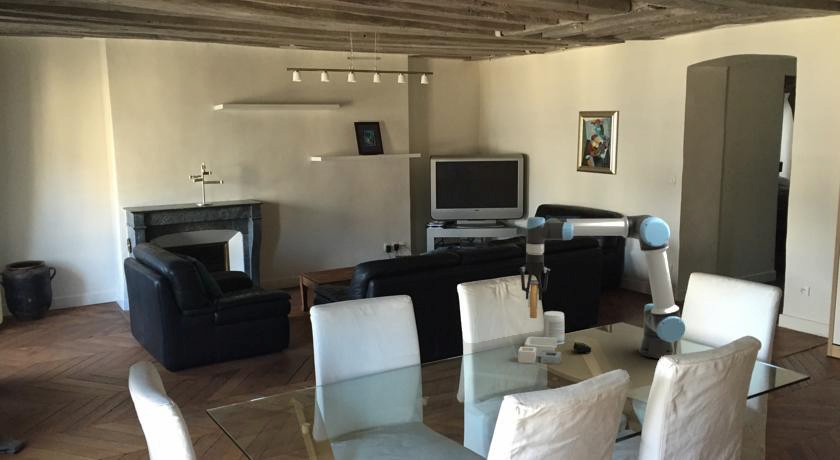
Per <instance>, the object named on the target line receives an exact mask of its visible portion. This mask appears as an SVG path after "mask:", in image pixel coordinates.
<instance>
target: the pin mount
mask: <svg viewBox="0 0 840 460" xmlns="http://www.w3.org/2000/svg"><path fill="white" fill-rule="evenodd" d="M561 360H562V352H561V351H555V352H553V351H542V354H541V356H540V363H541V364H550V365H551V364H552V365H553V364H554V365H560V364H561Z"/></svg>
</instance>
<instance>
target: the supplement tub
mask: <svg viewBox="0 0 840 460" xmlns="http://www.w3.org/2000/svg"><path fill="white" fill-rule="evenodd" d="M543 337H549V338H557V345H563V344H564V343H565V313H564V312H562V311H557V310H556V311H555V310H550V311H545V312H544V313H543Z"/></svg>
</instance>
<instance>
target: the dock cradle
mask: <svg viewBox="0 0 840 460" xmlns="http://www.w3.org/2000/svg"><path fill="white" fill-rule="evenodd" d="M523 347H534V348H536V357H541V354H542V351H553V352H556V351H555V349H556V348H558V344H557V338H549V337H544V336H529V335H528V336H527V337H526V340H525V342H524V344H523Z"/></svg>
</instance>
